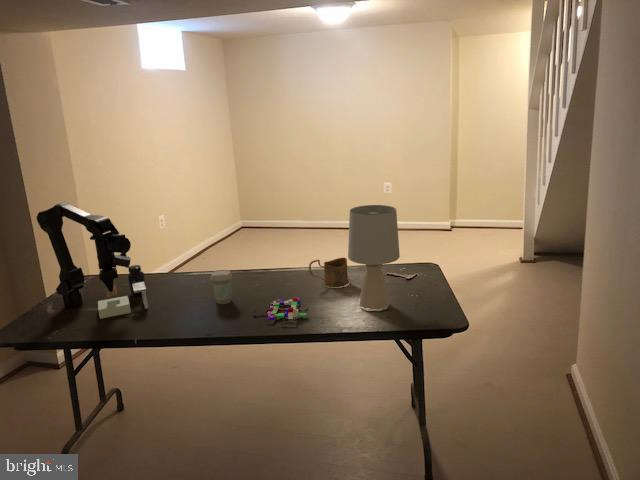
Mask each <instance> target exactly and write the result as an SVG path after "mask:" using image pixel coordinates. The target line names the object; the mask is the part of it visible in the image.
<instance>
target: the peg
mask: <svg viewBox="0 0 640 480" xmlns="http://www.w3.org/2000/svg"><path fill="white" fill-rule="evenodd" d="M105 291H106V292H105V293H106V297H108V298H113V297H114V298H115V297H116V296H117V295H118V293H117V292H118V291H117V285H116V278H115V279H114V282H113V292H110V291H109V290H108V289H107V287H106V286H105Z"/></svg>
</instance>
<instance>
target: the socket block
mask: <svg viewBox="0 0 640 480" xmlns="http://www.w3.org/2000/svg"><path fill="white" fill-rule="evenodd" d="M129 300H130V299H129V296H128V295H125V296H119V297H114V298H113V297H111V298H108V299H107V298H106V299H101V300H98V301H97V306H98V308H97V309H98V310H97V311H98V316H99V319H100V320H101V319H105V318H111V317H117V316H121V315H125V314H126V315H127V314H131V313H132V311H131V306H130V301H129Z"/></svg>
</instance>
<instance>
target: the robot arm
mask: <svg viewBox="0 0 640 480" xmlns="http://www.w3.org/2000/svg"><path fill="white" fill-rule="evenodd" d="M64 217H65V218H67V219H69V220H71V221H73V222H76V223H77V224H80V225H81V226H84V228H85V229H86V231H87V232H89V233H90V234H91V236H90V237H89V240H90V241H91V240H92V241H94V245H95V251H96V257H97V258H96V259H97V262H98V263H97V265H98V269H99V272H98V276H99V281H101V282H102V283H103V284H104V286H105V288H106V287H107V289H108V290H109V291H110V292H113V282H114V279H115V280H116V279H118V278H119V274H118V269H117V267H123V268H126V269H128V268H129V267H130V266H131V261H132V259H131V257H130V256H127V253H128V252H129V251H130V250H131V246H132V245H131V244H132V243H131V241H130V240H129V238H128V237H126V235H125V234H120V231H119V230H118V229H117V227H116V226H115V225H114V223H113V222H112V220H111V218H109V217H107V216H103V215H99V214H95V215H94V214H91V213H89V212H88V211H87V212H86V211H84V210H82V209H80V208H78V207H75V206H73V205H71V204H70V203H69V202H61V203H56V205H54V206H52V207H50V208H48V209H46V210H41V211H39V212H38V213H37V216H36V220H37V221H36V222H37V223H38V225H39V228H40V229H41V230H42V231H43V232H45V234H47V236H48V238H49V241H50V244H51V246H52V249H53V251H54V255H55V257H56V260H57V263H58V265H59V268H60V271H59V275H58V278H59V282H60V283H59V284H58V286H57V287H56V288H55V291H56V293H57V295H61V296H62V300H63V306H64V307H63V310H68V309H73V308H74V309H75V308H79V307H80V308H81V307H82V306H83V304H84V298H83V293H82V291H81V290H80V289H83V288H84V283H85V280H86V279H85V274H84V272H83V268H82V267H78V266H76V265H75V264H74V261H73V258H72V256H71V252H70V250H69V247H68V244H67V242H66V239H65V237H64V233H63V225H64V220H63V218H64ZM115 253H119V254H115Z"/></svg>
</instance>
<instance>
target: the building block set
mask: <svg viewBox="0 0 640 480" xmlns="http://www.w3.org/2000/svg"><path fill="white" fill-rule="evenodd" d="M281 299H282V298H276V300H274V301H273V302H272V304H273V305H275V306H270V309H273V310H272V311H268V312H267V314H268V316H267V319H268V318H269V320H274V319H275V318H284V317H288V319H293V317H297V316H298V317H299V316H307V317H308V313H307V312H299V310H298V309H296V308H297V307H298V306H297V305H298V304H300V305H301V303H300V302H301V299H300V297H293V298H292V299H288V300H283V301H281ZM280 305H291V307H290V308H286V311H284V312H285V313H278V314H276V313H277V311H278V308H279V306H280ZM278 312H279V311H278ZM269 320H268V321H269Z"/></svg>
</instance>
